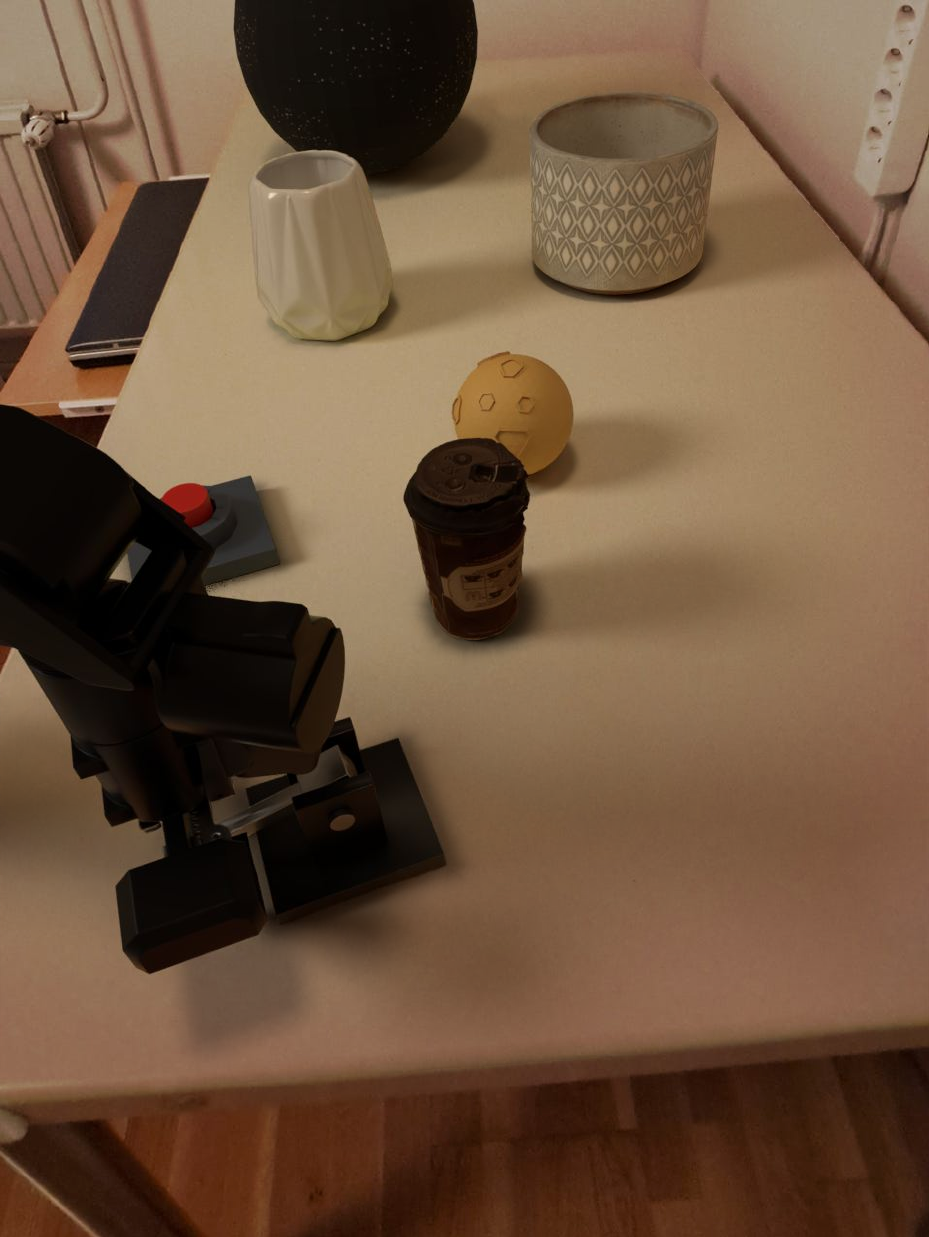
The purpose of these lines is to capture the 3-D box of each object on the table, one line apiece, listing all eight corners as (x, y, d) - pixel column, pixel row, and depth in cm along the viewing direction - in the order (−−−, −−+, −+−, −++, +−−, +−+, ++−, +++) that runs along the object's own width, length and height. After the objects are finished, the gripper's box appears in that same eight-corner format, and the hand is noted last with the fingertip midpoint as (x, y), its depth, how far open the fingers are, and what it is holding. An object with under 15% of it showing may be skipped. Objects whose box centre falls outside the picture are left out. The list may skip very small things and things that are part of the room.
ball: (485, 205, 116) (471, -94, 95) (247, 220, 118) (179, -70, 96) (482, 117, 137) (470, -145, 115) (279, 131, 138) (229, -125, 117)
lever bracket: (280, 925, 53) (250, 861, 48) (249, 798, 59) (220, 729, 54) (446, 864, 55) (435, 797, 50) (400, 748, 61) (386, 676, 56)
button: (170, 534, 72) (163, 517, 71) (164, 507, 74) (157, 489, 73) (216, 522, 73) (210, 504, 72) (209, 495, 75) (203, 477, 74)
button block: (140, 604, 72) (125, 571, 69) (126, 525, 78) (112, 492, 76) (280, 564, 74) (270, 530, 71) (255, 490, 80) (245, 457, 78)
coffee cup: (560, 612, 68) (563, 470, 59) (475, 674, 65) (463, 533, 55) (480, 554, 73) (471, 414, 64) (397, 609, 70) (374, 469, 60)
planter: (728, 244, 105) (748, 105, 95) (655, 319, 95) (668, 174, 85) (581, 213, 113) (585, 82, 103) (500, 280, 103) (494, 142, 93)
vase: (377, 354, 94) (355, 202, 83) (246, 347, 97) (207, 199, 86) (410, 286, 103) (394, 141, 92) (290, 281, 106) (260, 139, 95)
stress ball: (515, 417, 85) (512, 316, 78) (596, 462, 80) (601, 359, 73) (433, 466, 81) (422, 365, 74) (512, 518, 76) (509, 414, 68)
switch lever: (212, 899, 52) (190, 883, 50) (197, 819, 56) (175, 801, 54) (372, 817, 52) (355, 798, 50) (346, 742, 56) (330, 722, 54)
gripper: (345, 799, 38) (391, 958, 50) (256, 524, 51) (309, 702, 62) (69, 893, 36) (182, 1037, 48) (46, 582, 49) (140, 756, 60)
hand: (212, 862), depth 54 cm, fingers closed on switch lever, 5 cm apart
